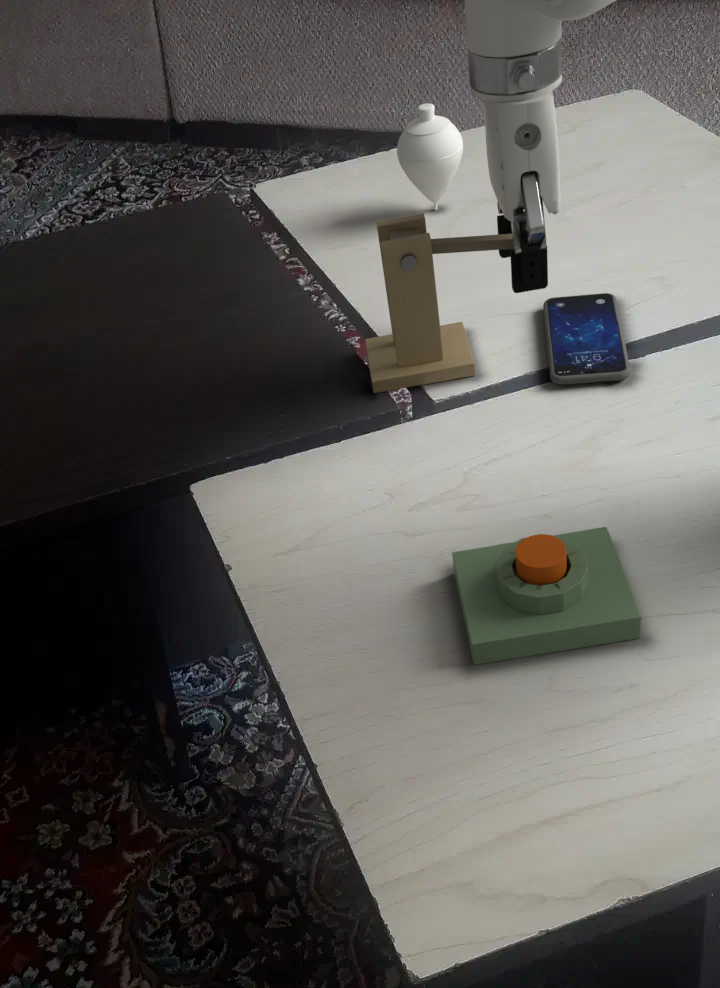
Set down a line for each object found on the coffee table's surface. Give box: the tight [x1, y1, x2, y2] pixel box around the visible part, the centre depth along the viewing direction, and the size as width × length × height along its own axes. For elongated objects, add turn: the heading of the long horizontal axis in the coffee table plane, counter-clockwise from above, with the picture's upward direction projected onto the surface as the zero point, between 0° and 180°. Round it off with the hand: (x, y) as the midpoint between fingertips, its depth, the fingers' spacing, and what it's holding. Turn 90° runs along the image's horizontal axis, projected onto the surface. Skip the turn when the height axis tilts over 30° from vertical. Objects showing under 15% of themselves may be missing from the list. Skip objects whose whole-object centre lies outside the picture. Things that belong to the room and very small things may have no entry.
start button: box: [515, 533, 567, 585], centre depth 77 cm, size 4×4×2 cm
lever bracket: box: [364, 212, 477, 394], centre depth 100 cm, size 10×8×14 cm
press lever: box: [389, 222, 526, 255], centre depth 97 cm, size 13×6×2 cm, turn 95°
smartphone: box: [542, 292, 631, 385], centre depth 103 cm, size 7×1×15 cm
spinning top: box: [396, 102, 464, 211], centre depth 124 cm, size 8×8×12 cm
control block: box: [451, 526, 642, 666], centre depth 78 cm, size 12×10×4 cm
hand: (522, 269), depth 99 cm, fingers closed on press lever, 6 cm apart
